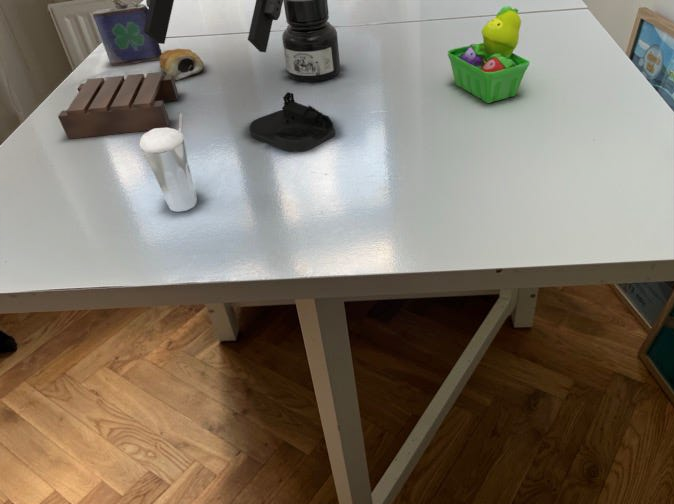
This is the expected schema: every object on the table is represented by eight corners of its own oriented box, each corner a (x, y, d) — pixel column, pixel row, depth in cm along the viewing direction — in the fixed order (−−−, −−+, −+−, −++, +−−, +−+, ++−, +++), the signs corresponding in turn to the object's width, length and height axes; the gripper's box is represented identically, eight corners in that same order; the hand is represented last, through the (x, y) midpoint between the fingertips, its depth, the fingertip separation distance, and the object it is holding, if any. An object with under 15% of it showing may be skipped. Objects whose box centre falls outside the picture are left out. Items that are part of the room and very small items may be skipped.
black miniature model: (239, 132, 78) (231, 98, 75) (291, 107, 83) (285, 74, 80) (297, 156, 72) (291, 120, 68) (349, 128, 77) (345, 93, 74)
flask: (110, 67, 100) (86, 2, 93) (111, 61, 102) (88, -2, 95) (163, 59, 102) (144, -5, 95) (162, 54, 104) (143, -9, 97)
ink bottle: (277, 80, 92) (263, 2, 84) (298, 61, 98) (287, -14, 90) (331, 85, 89) (323, 4, 81) (350, 65, 95) (343, -12, 87)
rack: (68, 139, 79) (55, 112, 76) (89, 104, 88) (78, 79, 85) (168, 128, 80) (159, 101, 77) (179, 95, 89) (171, 70, 86)
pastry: (153, 67, 99) (146, 45, 96) (189, 58, 102) (183, 36, 99) (172, 82, 93) (165, 59, 90) (209, 72, 96) (204, 50, 93)
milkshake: (216, 199, 65) (193, 118, 58) (177, 220, 62) (147, 137, 55) (194, 186, 67) (169, 107, 61) (155, 206, 64) (124, 125, 58)
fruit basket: (443, 83, 88) (445, 6, 80) (489, 71, 90) (496, -4, 83) (485, 109, 80) (492, 26, 72) (534, 95, 83) (546, 14, 75)
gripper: (130, -165, 62) (90, 17, 62) (332, -174, 55) (288, 31, 55) (172, -114, 70) (136, 50, 69) (356, -116, 63) (317, 66, 62)
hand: (203, 42), depth 62 cm, fingers open, 13 cm apart
